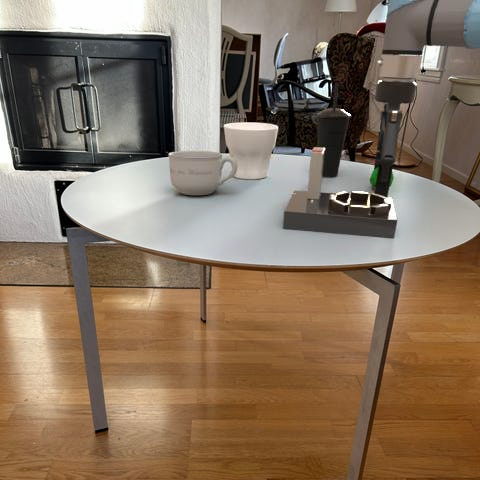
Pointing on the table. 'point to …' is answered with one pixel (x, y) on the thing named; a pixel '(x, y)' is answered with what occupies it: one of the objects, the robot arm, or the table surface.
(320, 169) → the upright white panel
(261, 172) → the cup
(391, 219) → the cooktop
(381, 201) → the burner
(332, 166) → the drinking cup
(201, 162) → the teacup
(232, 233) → the table surface
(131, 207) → the table surface
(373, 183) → the polyhedron
